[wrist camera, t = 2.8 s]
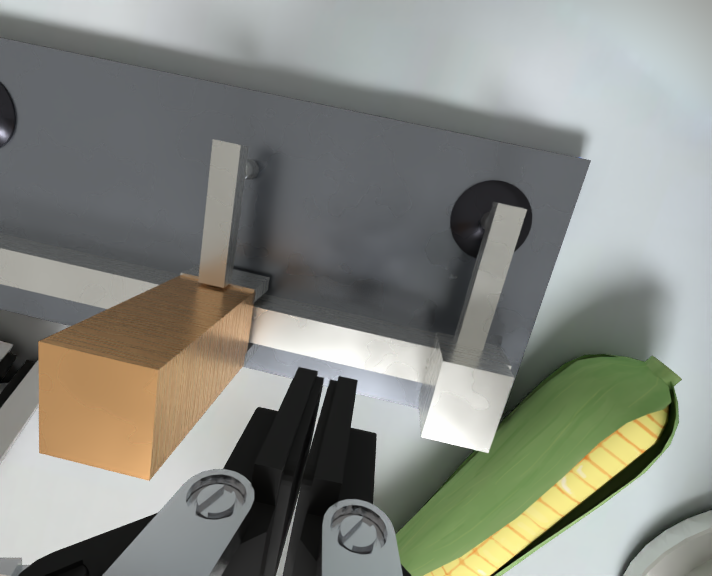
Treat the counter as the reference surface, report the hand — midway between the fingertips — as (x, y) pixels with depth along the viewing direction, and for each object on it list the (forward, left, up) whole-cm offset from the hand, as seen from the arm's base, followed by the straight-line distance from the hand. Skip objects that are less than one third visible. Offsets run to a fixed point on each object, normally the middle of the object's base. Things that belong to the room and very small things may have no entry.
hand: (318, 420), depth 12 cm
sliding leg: (+5, -2, -7) cm, 9 cm away
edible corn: (-8, +7, -9) cm, 14 cm away
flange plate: (+7, -3, -9) cm, 12 cm away
